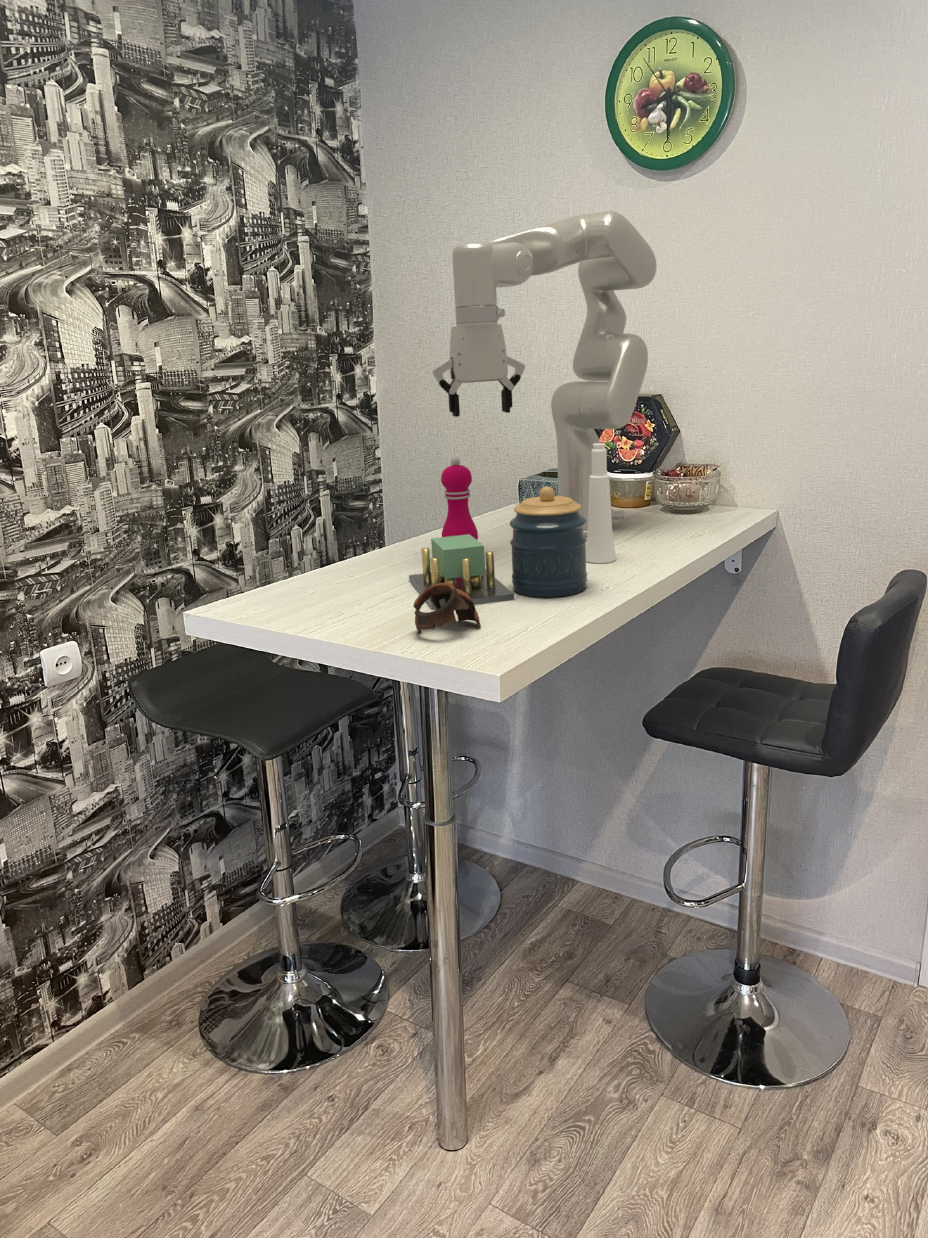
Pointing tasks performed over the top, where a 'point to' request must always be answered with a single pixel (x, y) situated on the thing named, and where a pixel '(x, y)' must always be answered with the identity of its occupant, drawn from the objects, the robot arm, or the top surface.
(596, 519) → the cosmetic bottle
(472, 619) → the brown curved shards
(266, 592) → the top surface
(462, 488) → the pepper mill
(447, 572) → the green boxy piece
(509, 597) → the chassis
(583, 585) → the canister
